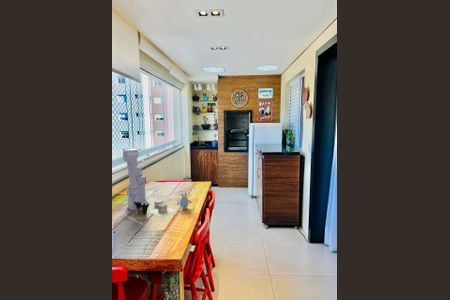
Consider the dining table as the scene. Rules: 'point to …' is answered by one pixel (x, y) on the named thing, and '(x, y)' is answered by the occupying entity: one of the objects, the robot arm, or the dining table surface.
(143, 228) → the dining table surface
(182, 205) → the toy figure
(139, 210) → the walnut block
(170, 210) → the station board
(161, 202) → the grey block
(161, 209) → the maple block
